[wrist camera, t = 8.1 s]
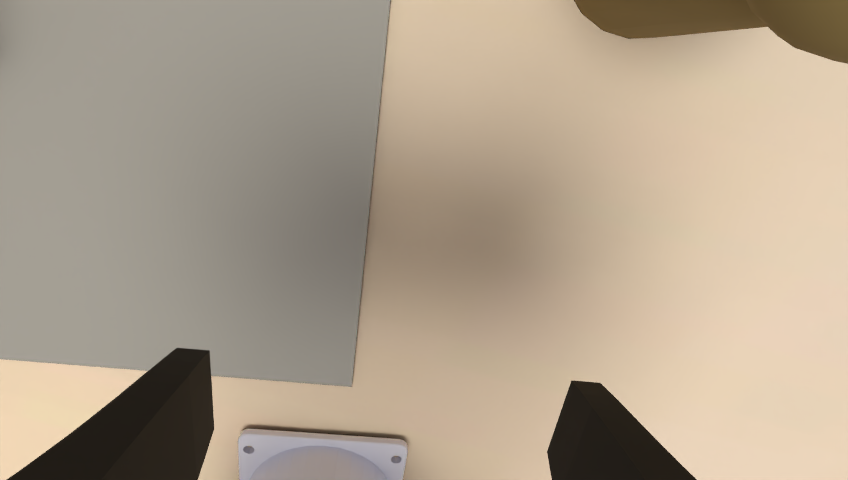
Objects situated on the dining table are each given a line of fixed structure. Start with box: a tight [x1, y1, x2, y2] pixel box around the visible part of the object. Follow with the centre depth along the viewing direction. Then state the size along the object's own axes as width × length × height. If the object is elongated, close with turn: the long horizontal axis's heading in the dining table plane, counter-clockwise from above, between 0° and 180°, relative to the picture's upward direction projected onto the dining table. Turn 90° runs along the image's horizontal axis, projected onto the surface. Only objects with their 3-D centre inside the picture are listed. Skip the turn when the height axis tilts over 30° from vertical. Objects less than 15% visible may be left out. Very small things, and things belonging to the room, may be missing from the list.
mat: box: [0, 0, 390, 387], centre depth 18 cm, size 20×20×1 cm
